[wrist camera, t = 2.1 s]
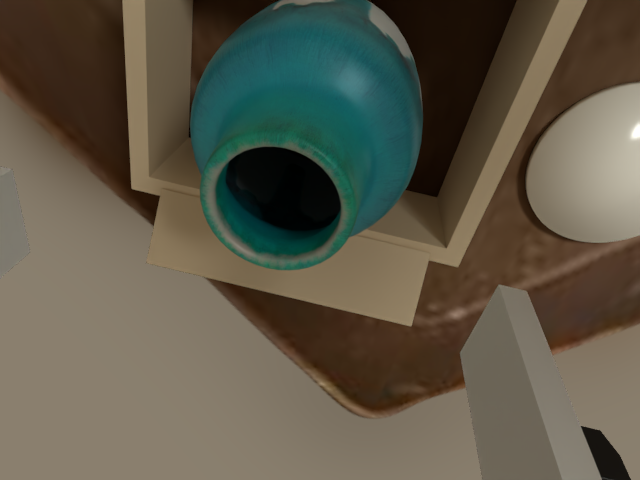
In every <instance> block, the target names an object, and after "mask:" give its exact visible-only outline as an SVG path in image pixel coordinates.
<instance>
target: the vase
mask: <svg viewBox="0 0 640 480" xmlns="http://www.w3.org/2000/svg"><path fill="white" fill-rule="evenodd" d="M422 128H423V107H422V95H421V87H420V81H419V77H418V73H417V69H416V65H415V61H414V58H413V56H412V53H411V51H410V49H409V46H408V44H407V42H406V40H405V38H404V37H403V35H402V34H401V32H400V31H399V29H398V28H397V26H396V25H395V23H394V22H393V21H392V20H391V19H390V18H389V17H388V16H387V15H386V14H385V13H384V12H383V11H382V10H381V9H379V8H378V7H377V6H375V5H374V4H373V3H371V2H369V1H367V0H279V1H277V2H275V3H273V4H271V5H269V6H268V7H266V8H265V9H263V10H262V11H260V12H259V13H257V14H256V15H254V16H253V17H251V18H250V19H248V20H247V21H246V22H244V23H243V24H242V25H241V26H240V27H239V28H238V29H237V30H236V31H235V32H233V33H232V34H231V35H230V36H229V37H228V38H227V39H226V40H225V41H224V43H223V44H222V45H221V46H220V48H219V49H218V51H217V52H216V53H215V55H214V56H213V58H212V59H211V60H210V62H209V63H208V65H207V67H206V68H205V70H204V72H203V75H202V77H201V79H200V81H199V83H198V85H197V88H196V92H195V96H194V99H193V103H192V109H191V119H190V131H191V143H192V147H193V152H194V156H195V161H196V163H197V166H198V169H199V171H200V174H201V182H200V201H201V205H202V210H203V213H204V216H205V218H206V221H207V223H208V225H209V226H210V228H211V230H212V232H213V233H214V234H215V235H216V237H217V238H218V239H219V241H220V242H221V243H223V244H224V245H225V246H226V247H227V248H228V249H229V250H230V251H232V252H233V253H234V254H236V255H237V256H239V257H241V258H242V259H244V260H246V261H248V262H250V263H253V264H255V265H258V266H261V267H264V268H268V269H274V270H288V271H290V270H300V269H305V268H309V267H312V266H315V265H317V264H320V263H322V262H324V261H325V260H327V259H329V258H330V257H332V256H333V255H334V254H335V253H337V252H338V251H339V250H340V249H341V248H342V247H343V245H344V244H345V243H346V242H347V240H348V238H349V237H352V236H354V235H357V234H359V233H360V232H362V231H364V230H365V229H367V228H369V227H371V226H372V225H374V224H375V223H376V222H377V221H379V220H380V219H381V218H382V217H384V216H385V215H386V214H387V213H388V212H389V211H390V210H391V209H392V207H393V206H394V205H395V204H396V203H397V202H398V200H399V199H400V197H401V195H402V194H403V192H404V191H405V189H406V188H407V186H408V184H409V182H410V179H411V177H412V175H413V172H414V170H415V167H416V163H417V159H418V155H419V151H420V147H421V141H422Z"/></svg>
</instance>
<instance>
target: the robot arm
mask: <svg viewBox="0 0 640 480" xmlns="http://www.w3.org/2000/svg"><path fill="white" fill-rule="evenodd" d="M29 253H30V249H29V244H28V239H27V234H26V230H25V225H24V221H23V216H22V211H21V206H20V202H19V197H18V193H17V188H16V183H15V179H14V174H13V170H12V169H9V168H5V167H1V166H0V278H1V277H2V276H4V275H5V274H6V273H7V272H8V271H9V270H10V269H12V268H13V267H14V266H15V265H16V264H17V263H18V262H20V261H21V260H22V259H23V258H24V257H25V256H26V255H27V254H29ZM460 356H461V362H462V368H463V373H464V379H465V385H466V390H467V395H468V401H469V407H470V412H471V418H472V424H473V430H474V435H475V440H476V446H477V452H478V458H479V463H480V469H481V475H482V480H631V479H630V477H629V475H628V472H627V470H626V468H625V466H624V464H623V461H622V459H621V457H620V455H619V454H618V453H617V451H616V450H615V449H614V448H613V446H612V445H611V444H610V443H609V441H608V440H607V439H606V437H605V436H604V435H603V434H602V432H601V431H600V430H595V429H591V428H587V427H583V426H580V423H579V421H578V418H577V416H576V414H575V411H574V408H573V406H572V404H571V401H570V398H569V396H568V393H567V391H566V388H565V386H564V383H563V381H562V378H561V376H560V374H559V371H558V368H557V366H556V363H555V361H554V358H553V356H552V353H551V351H550V348H549V346H548V343H547V341H546V338H545V336H544V333H543V331H542V328H541V326H540V323H539V321H538V318H537V316H536V313H535V311H534V308H533V306H532V303H531V301H530V298H529V296H528V293H527V291H524V290H520V289H515V288H511V287H507V286H503V285H498V287H497V289H496V290H495V292H494V294H493V296H492V297H491V299H490V301H489V303H488V304H487V306H486V308H485V310H484V311H483V313H482V315H481V317H480V319H479V320H478V322H477V324H476V326H475V327H474V329H473V331H472V333H471V334H470V336H469V338H468V340H467V342H466V343H465V345H464V347H463V349H462V350H461V352H460Z"/></svg>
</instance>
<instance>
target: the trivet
mask: <svg viewBox="0 0 640 480" xmlns="http://www.w3.org/2000/svg"><path fill="white" fill-rule="evenodd" d="M525 188H526V193H527V198H528V200H529V203H530V205H531V207H532V209H533V211H534V212H535V214H536V216H537V217H538V218H539V220H540V221H541V222H542V223H543V224H544V225H545V226H547V227H548V228H549V229H550V230H552V231H554V232H555V233H557V234H559V235H561V236H563V237H566V238H569V239H572V240H576V241H582V242H592V243H603V242H613V241H620V240H624V239H629V238H632V237H635V236H639V235H640V81H639V82H629V83H624V84H619V85H615V86H612V87H609V88H606V89H603V90H600V91H598V92H596V93H594V94H591V95H589V96H587V97H586V98H584V99H582V100H580V101H578V102H577V103H575V104H574V105H573V106H571V107H570V108H568V109H567V110H566V111H564V112H563V113H562V114H561V115H560V116H559V117H557V118H556V119H555V120H554V121H553V122H552V123H551V125H550V126H549V127H548V128H547V129H546V130H545V132H544V133H543V134H542V136H541V137H540V138H539V140H538V142H537V143H536V145H535V147H534V149H533V151H532V153H531V155H530V158H529V161H528V165H527V168H526V176H525Z"/></svg>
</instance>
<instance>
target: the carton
mask: <svg viewBox="0 0 640 480" xmlns="http://www.w3.org/2000/svg"><path fill="white" fill-rule="evenodd" d="M586 2H587V0H517V1H516V4H515V6H514V9H513V11H512V13H511V16H510V18H509V21H508V23H507V26H506V28H505V31H504V33H503V36H502V38H501V41H500V43H499V46H498V48H497V51H496V53H495V56H494V58H493V60H492V63H491V65H490V68H489V70H488V73H487V75H486V78H485V80H484V83H483V85H482V88H481V90H480V93H479V95H478V98H477V100H476V102H475V105H474V107H473V110H472V112H471V115H470V117H469V120H468V122H467V125H466V127H465V130H464V132H463V135H462V137H461V140H460V142H459V145H458V147H457V149H456V152H455V154H454V157H453V159H452V162H451V164H450V167H449V169H448V172H447V174H446V177H445V179H444V182H443V184H442V187H441V189H440V191H439V194H438V196H437V197H433V196H429V195H425V194H421V193H417V192H413V191H408V190H405V191H404V192H403V194H402V195H401V197H400V199H399V200H398V202H397V203H396V204H395V205H394V206H393V207H392V209H391V210H390V211H389V212H388V213H387V214H386V215H385V216H384V217H382V218H381V219H380V220H379V221H377V222H376V223H375V224H374V225H372V226H371V227H369V228H367V229H365V230H364V231H362V232H360V233H359V234H357V235H354V236H352V237H349V238H348V240H347V242H346V243H345V244H344V245H343V247H342V248H341V249H340V250H339V251H338V252H337V253H335V254H334V255H333V256H332V257H330V258H329V259H327V260H325V261H324V262H322V263H320V264H317V265H315V266H312V267H309V268H305V269H300V270H290V271H288V270H274V269H268V268H264V267H261V266H258V265H255V264H253V263H250V262H248V261H246V260H244V259H242V258H241V257H239V256H237V255H236V254H234V253H233V252H232V251H230V250H229V249H228V248H227V247H226V246H225V245H224V244H223V243H221V242H220V241H219V239H218V238H217V237H216V235H215V234H214V233H213V232H212V230H211V228H210V226H209V225H208V223H207V221H206V218H205V216H204V213H203V210H202V205H201V201H200V182H201V174H200V171H199V169H198V166H197V163H196V161H195V156H194V152H193V147H192V143H191V138H189V112H190V82H191V51H192V21H193V0H122V3H123V24H124V44H125V65H126V85H127V106H128V127H129V147H130V168H131V189H134V190H138V191H142V192H146V193H150V194H155V195H159V196H160V200H159V204H158V209H157V214H156V219H155V223H154V228H153V233H152V238H151V243H150V248H149V252H148V257H147V262H146V263H148V264H152V265H156V266H160V267H164V268H169V269H173V270H177V271H182V272H185V273H189V274H194V275H198V276H202V277H206V278H210V279H215V280H219V281H223V282H227V283H231V284H235V285H240V286H244V287H248V288H252V289H256V290H261V291H265V292H269V293H273V294H277V295H282V296H286V297H290V298H294V299H298V300H303V301H307V302H311V303H315V304H319V305H324V306H328V307H332V308H336V309H340V310H344V311H349V312H353V313H357V314H361V315H365V316H370V317H374V318H378V319H382V320H386V321H391V322H395V323H399V324H403V325H407V326H412V322H413V318H414V315H415V311H416V307H417V303H418V299H419V296H420V292H421V288H422V284H423V280H424V276H425V273H426V269H427V265H428V261H429V260H430V261H434V262H438V263H442V264H446V265H451V266H455V267H458V266H459V264H460V262H461V260H462V258H463V256H464V253H465V251H466V249H467V247H468V245H469V243H470V241H471V239H472V237H473V235H474V233H475V231H476V229H477V227H478V225H479V223H480V220H481V218H482V216H483V214H484V212H485V210H486V208H487V206H488V204H489V202H490V200H491V198H492V196H493V194H494V192H495V190H496V188H497V185H498V183H499V181H500V179H501V177H502V175H503V173H504V171H505V169H506V167H507V165H508V163H509V161H510V159H511V157H512V155H513V153H514V150H515V148H516V146H517V144H518V142H519V140H520V138H521V136H522V134H523V132H524V130H525V128H526V126H527V124H528V122H529V120H530V118H531V115H532V113H533V111H534V109H535V107H536V105H537V103H538V101H539V99H540V97H541V95H542V93H543V91H544V89H545V87H546V85H547V83H548V80H549V78H550V76H551V74H552V72H553V70H554V68H555V66H556V64H557V62H558V60H559V58H560V56H561V54H562V52H563V50H564V47H565V45H566V43H567V41H568V39H569V37H570V35H571V33H572V31H573V29H574V27H575V25H576V23H577V21H578V19H579V17H580V15H581V12H582V10H583V8H584V6H585V4H586Z"/></svg>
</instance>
